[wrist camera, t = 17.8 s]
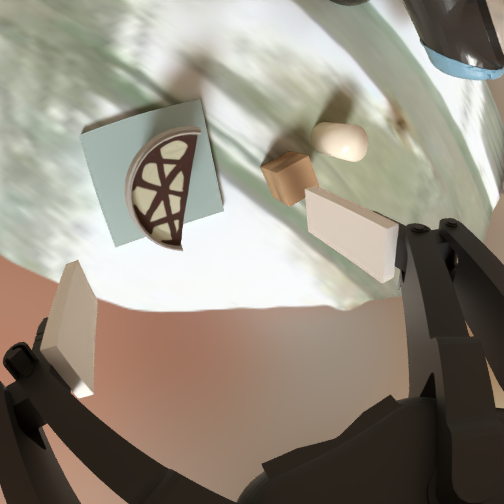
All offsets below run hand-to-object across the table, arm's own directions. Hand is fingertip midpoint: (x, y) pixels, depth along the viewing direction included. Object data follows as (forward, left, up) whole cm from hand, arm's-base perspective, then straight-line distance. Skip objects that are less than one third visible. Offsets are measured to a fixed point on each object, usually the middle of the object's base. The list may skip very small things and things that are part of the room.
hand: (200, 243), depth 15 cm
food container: (+1, 0, -22) cm, 22 cm away
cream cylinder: (-24, +1, -23) cm, 33 cm away
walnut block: (-16, +5, -23) cm, 29 cm away
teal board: (+1, 0, -23) cm, 23 cm away
